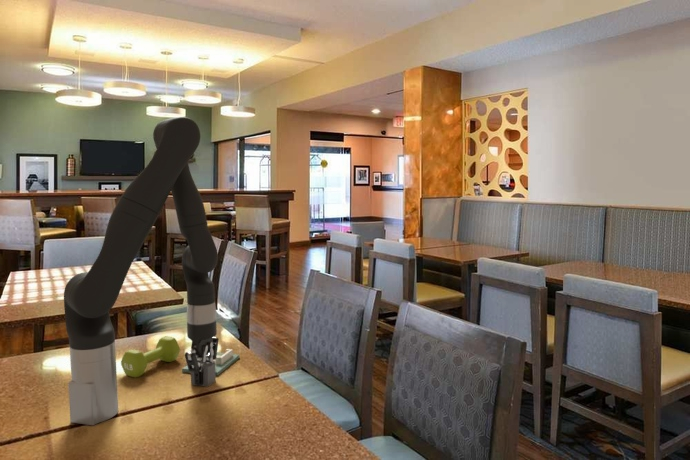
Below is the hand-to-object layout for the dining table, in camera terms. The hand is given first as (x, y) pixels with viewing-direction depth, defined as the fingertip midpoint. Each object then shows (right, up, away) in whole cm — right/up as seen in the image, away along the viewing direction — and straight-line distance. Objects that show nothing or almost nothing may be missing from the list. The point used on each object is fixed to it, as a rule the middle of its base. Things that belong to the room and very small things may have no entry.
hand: (203, 380), depth 130 cm
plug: (0, -1, 0) cm, 1 cm away
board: (-1, +1, +13) cm, 13 cm away
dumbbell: (-18, 0, +10) cm, 21 cm away
